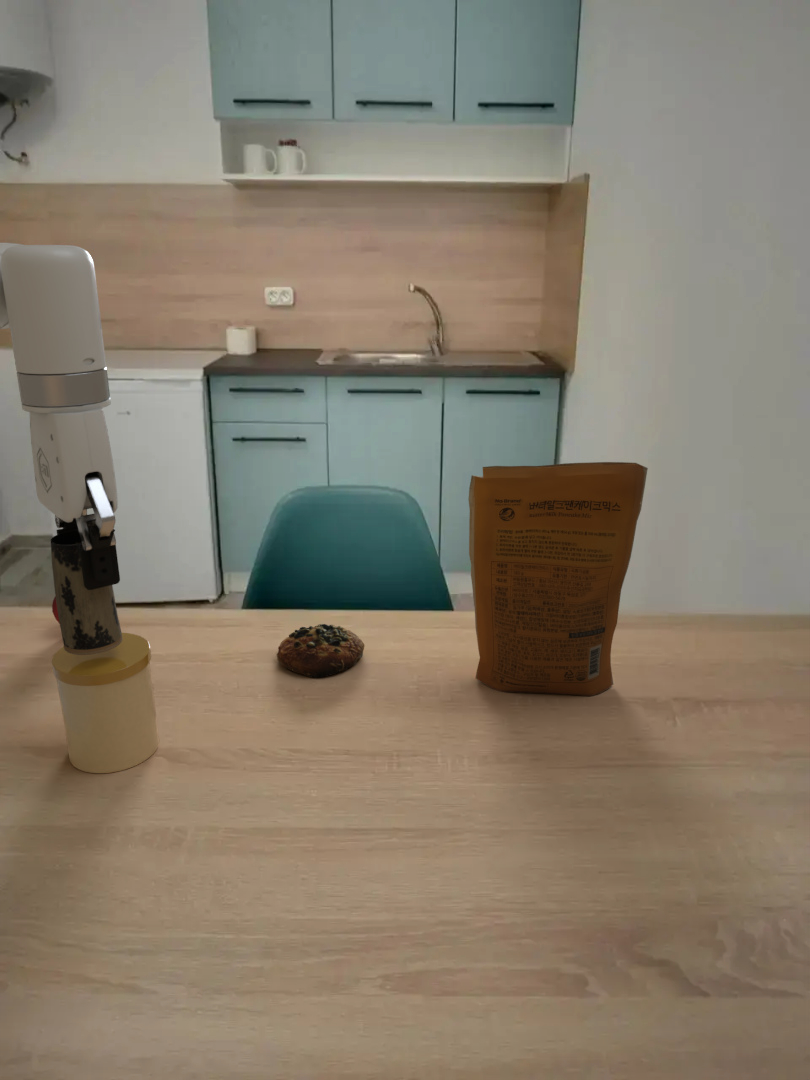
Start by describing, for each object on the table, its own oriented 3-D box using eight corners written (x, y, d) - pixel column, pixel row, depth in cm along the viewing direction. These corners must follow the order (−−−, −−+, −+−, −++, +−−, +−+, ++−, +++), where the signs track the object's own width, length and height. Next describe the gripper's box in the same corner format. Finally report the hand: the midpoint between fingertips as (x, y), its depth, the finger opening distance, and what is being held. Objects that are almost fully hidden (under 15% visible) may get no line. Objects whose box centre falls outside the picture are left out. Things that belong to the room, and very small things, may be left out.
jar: (55, 743, 88) (39, 648, 84) (141, 714, 93) (130, 624, 90) (84, 786, 81) (68, 685, 77) (175, 752, 86) (164, 656, 83)
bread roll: (297, 685, 99) (294, 645, 98) (264, 659, 108) (262, 623, 107) (379, 666, 104) (377, 628, 103) (341, 644, 114) (339, 608, 113)
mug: (104, 657, 79) (87, 538, 75) (51, 654, 80) (32, 535, 76) (142, 624, 86) (129, 513, 83) (94, 621, 87) (78, 511, 83)
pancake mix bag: (630, 706, 95) (654, 468, 86) (463, 697, 97) (469, 464, 87) (622, 677, 101) (643, 453, 92) (465, 670, 103) (470, 449, 94)
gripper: (-3, 382, 79) (25, 558, 85) (50, 408, 66) (79, 614, 72) (77, 375, 83) (99, 543, 89) (141, 398, 70) (162, 593, 76)
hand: (90, 573), depth 81 cm, fingers closed on mug, 6 cm apart
